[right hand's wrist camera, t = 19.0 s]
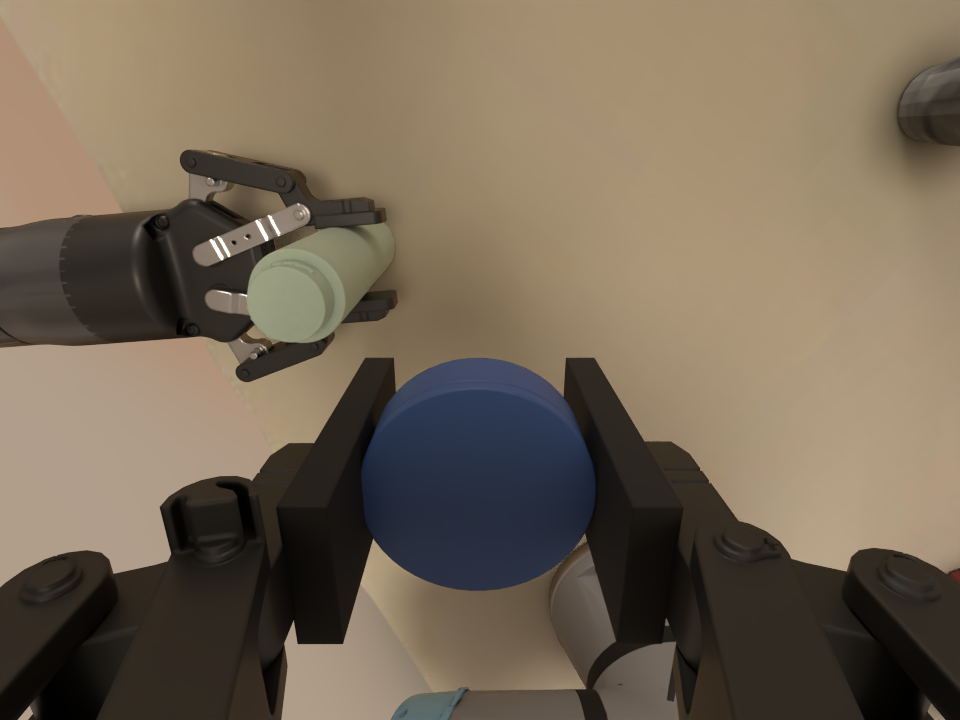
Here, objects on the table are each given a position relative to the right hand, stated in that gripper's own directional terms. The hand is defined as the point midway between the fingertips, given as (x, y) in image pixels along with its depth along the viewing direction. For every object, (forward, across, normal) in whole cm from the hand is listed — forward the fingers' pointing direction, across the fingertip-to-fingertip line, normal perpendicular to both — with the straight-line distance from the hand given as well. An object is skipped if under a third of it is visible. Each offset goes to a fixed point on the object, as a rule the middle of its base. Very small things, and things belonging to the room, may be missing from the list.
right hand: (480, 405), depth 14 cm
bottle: (+25, +8, -1) cm, 26 cm away
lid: (-4, 0, 0) cm, 4 cm away
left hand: (+18, +5, -1) cm, 19 cm away
